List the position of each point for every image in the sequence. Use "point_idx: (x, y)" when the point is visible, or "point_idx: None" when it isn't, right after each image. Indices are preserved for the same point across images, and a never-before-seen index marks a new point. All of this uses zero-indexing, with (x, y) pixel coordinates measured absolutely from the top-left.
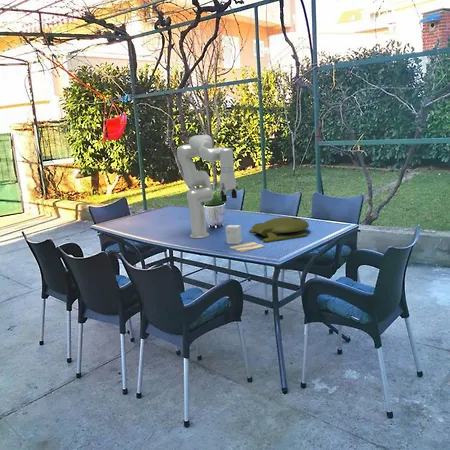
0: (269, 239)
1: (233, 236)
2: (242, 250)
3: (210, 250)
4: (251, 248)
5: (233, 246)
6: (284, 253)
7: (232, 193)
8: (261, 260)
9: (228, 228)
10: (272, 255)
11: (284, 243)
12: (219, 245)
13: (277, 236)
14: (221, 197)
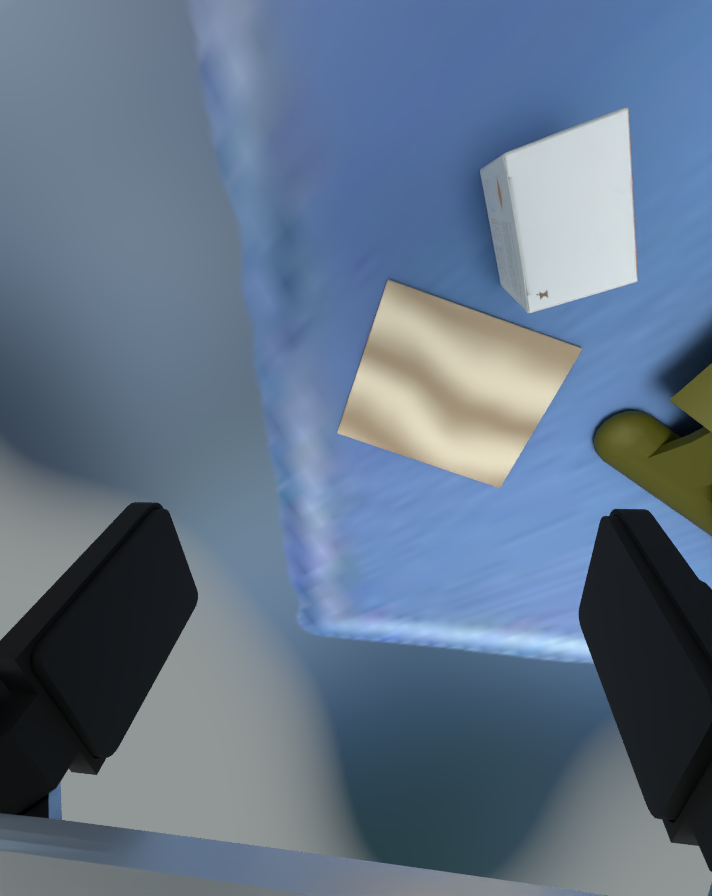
0: (621, 467)
1: (502, 248)
2: (359, 421)
3: (260, 184)
4: (419, 446)
5: (409, 306)
6: (425, 608)
7: (657, 662)
8: (288, 572)
9: (508, 198)
10: (373, 580)
11: None
12: (406, 142)
13: (700, 488)
14: (69, 570)
